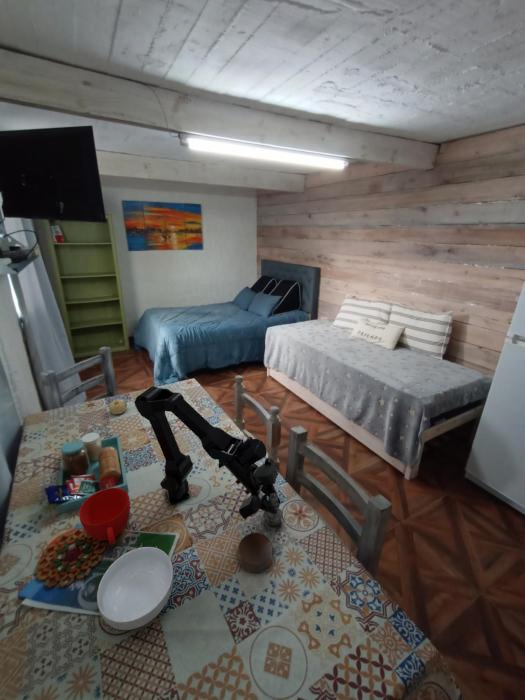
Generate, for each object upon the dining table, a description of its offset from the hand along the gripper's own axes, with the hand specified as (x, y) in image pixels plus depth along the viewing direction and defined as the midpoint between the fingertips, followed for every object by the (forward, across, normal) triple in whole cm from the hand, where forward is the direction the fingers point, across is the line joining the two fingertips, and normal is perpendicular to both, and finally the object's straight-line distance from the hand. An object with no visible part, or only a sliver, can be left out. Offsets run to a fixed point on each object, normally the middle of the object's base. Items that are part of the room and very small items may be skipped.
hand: (277, 508), depth 93 cm
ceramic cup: (-27, -19, +37) cm, 49 cm away
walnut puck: (+3, -12, +7) cm, 14 cm away
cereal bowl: (-13, -30, +23) cm, 40 cm away
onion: (-58, +36, +68) cm, 97 cm away
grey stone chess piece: (+4, 0, +6) cm, 7 cm away
